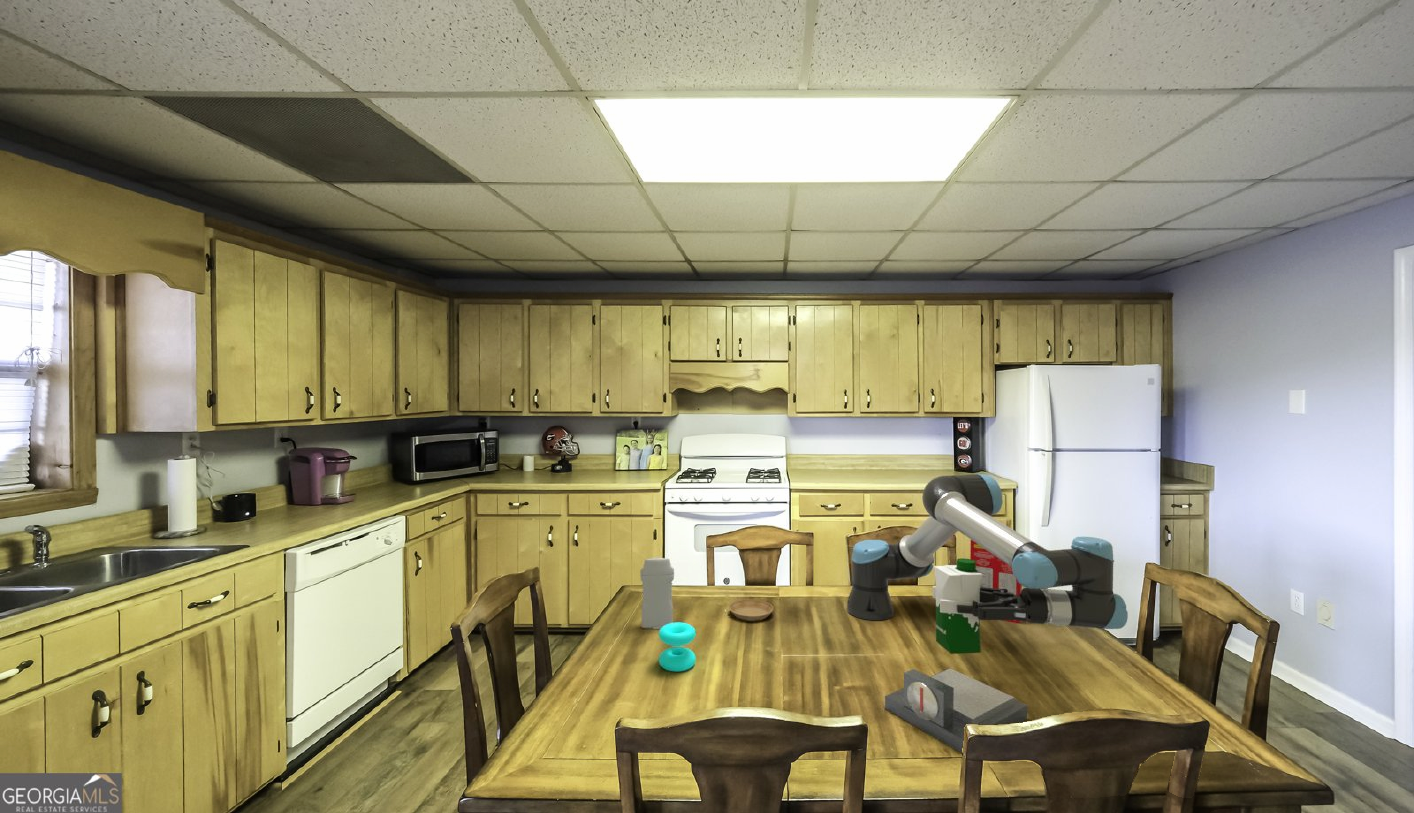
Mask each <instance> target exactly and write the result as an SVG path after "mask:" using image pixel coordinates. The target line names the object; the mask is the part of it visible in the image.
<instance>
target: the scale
mask: <svg viewBox="0 0 1414 813" xmlns="http://www.w3.org/2000/svg"><path fill="white" fill-rule="evenodd" d="M884 709H885V710H887V711H888V712H890V713H891V714H893V715H895V716H896V717H898V718H900V719H902V720H903V721H905V722H907V723H908V724H910V725H912V726H914V727H915V728H917V729H919V730H921V731H922V732H924V733H926V734H927V735H929V736H931V737H932V738H935V739H936V740H938V741H939V742H941V743H942V744H945V745H947V746H948V747H950V748H952V749H953V750H955V751H956V752H959V754H962V748H963V741H964V727H965V725H966V724H978V725H998V724H1010V723H1019V722H1020V723H1023V721H1025V720H1027V719H1028V704H1026V703H1024V702H1021V701H1020V700H1017V699H1015V697H1014V696H1012V695H1010V694H1007V693H1005V692H1003V691H1001V690H999V689H997V688H995V687H992V686H990V685H987V684H986V683H984V682H981V681H979V680H977V679H975V678H972V677H971V676H968V675H966V674H963V673H961V672H960V671H957V670H954V669H952V668H946V669H944V670H942V671H940V672H937V673H935V674H933V675H931V676H930V675H927V674H925V673H923V672H921V671H919V670H917V669H915V668H912V669H910V670H907V671H906V672H903V688H900V689H899V690H898V689H897V690H896V691H894V692H892V693H889V694H886V695H884ZM1020 723H1019V724H1020Z"/></svg>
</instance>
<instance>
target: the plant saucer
mask: <svg viewBox="0 0 1414 813" xmlns="http://www.w3.org/2000/svg"><path fill="white" fill-rule="evenodd" d="M728 609H729V610H730V612H731V614H733V615H734V616H735V617H736V618H737V619H740V620H742V621H747V622H757V621H761V620H764V619H766V618H767V617H769V616H770V615H771V614H772V612H773V611H774V606H773V605H772V604H771V603H769V602H767V601H763V600H758V599H741V600H736V601H732V602H731V603H730V605H728Z"/></svg>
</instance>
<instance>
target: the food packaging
mask: <svg viewBox="0 0 1414 813" xmlns="http://www.w3.org/2000/svg"><path fill="white" fill-rule="evenodd" d="M969 557H970V558H969V559H971V560H974V561H975V562H976V570H977V571H978V572H980V573H981V574H982V575H983V576H982V581H981V586H980V587H987V588H995V589H1007V590H1008V592H1009V593H1013V594H1014V595H1020V594H1021V591H1022V589H1023V588H1022V587H1023V586H1022V585H1021V584H1020V583H1019V582H1018V580H1017V578H1016V577H1014V574H1013V571H1012V567H1011V566H1009V565H1008V564H1006V563H1005V562H1003V561H1002V560H1000V559H999V558H998V557H996V556H995V555H993V554H992V553H990V552H989V551H987V550H986V549H984V548H983V547H981V546H980V545H978V544H977V543H976V542H974V541H973V540H971V539H970V555H969ZM980 603H983V602H980ZM1003 622H1007V623H1014V624H1021V623H1022V621H1018V620H1004V621H1003Z"/></svg>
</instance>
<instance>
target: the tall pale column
mask: <svg viewBox="0 0 1414 813" xmlns="http://www.w3.org/2000/svg"><path fill="white" fill-rule="evenodd" d="M639 573H640V575H639V576H640V578H639V579H640V581H641V583H642V584H641V586H642V599H643V600H642V603H641V628H642V629H648V630H649V629H650V630H651V629H653V630H660V629H661V628H662V627H663V626H664V625H667V624H669V623H674V604H673V600H672V596H673V589H672V588H673V581H674V579H675V568H673V567H672V564H671V560H670V558H665V557H653V558H647V559H644V564H643V567H642V568H641V569H640V571H639Z"/></svg>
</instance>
